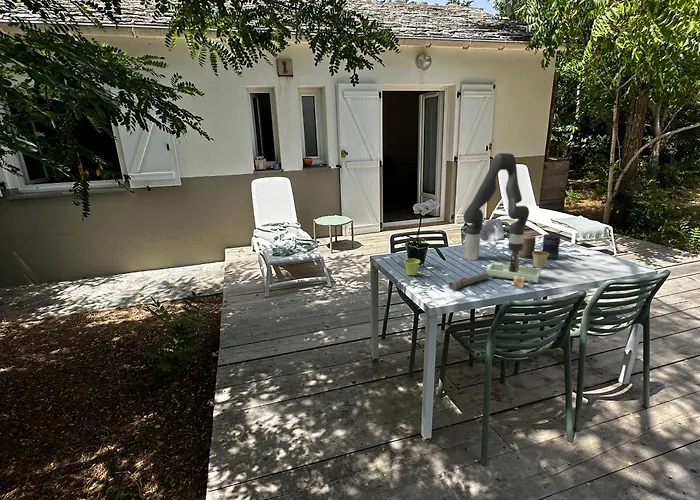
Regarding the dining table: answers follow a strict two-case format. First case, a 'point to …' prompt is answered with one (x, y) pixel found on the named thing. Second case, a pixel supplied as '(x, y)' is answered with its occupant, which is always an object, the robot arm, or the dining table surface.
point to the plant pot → (412, 266)
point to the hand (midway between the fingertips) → (513, 270)
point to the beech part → (518, 282)
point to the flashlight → (467, 280)
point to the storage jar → (551, 246)
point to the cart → (525, 272)
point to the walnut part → (515, 267)
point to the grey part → (498, 266)
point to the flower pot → (539, 258)
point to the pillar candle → (528, 247)
